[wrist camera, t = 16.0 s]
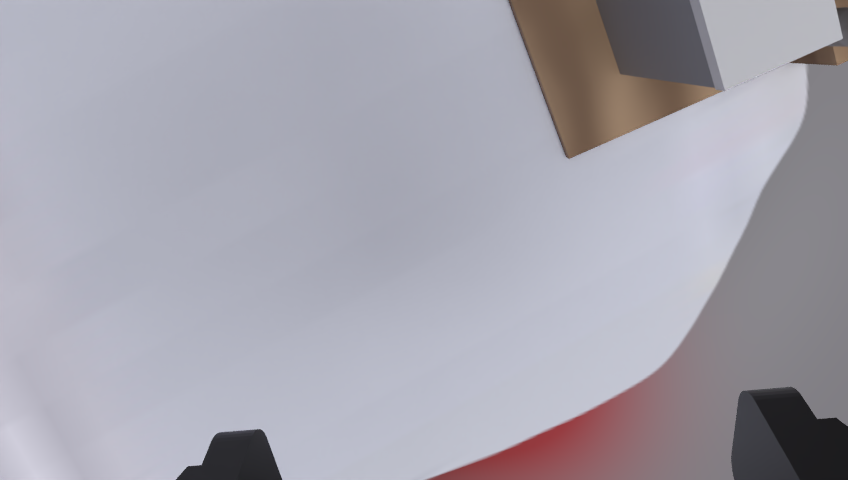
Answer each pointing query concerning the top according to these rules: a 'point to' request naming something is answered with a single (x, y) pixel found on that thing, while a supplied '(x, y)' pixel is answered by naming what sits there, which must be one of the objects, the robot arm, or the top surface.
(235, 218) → the top surface
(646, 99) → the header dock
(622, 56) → the plug block
